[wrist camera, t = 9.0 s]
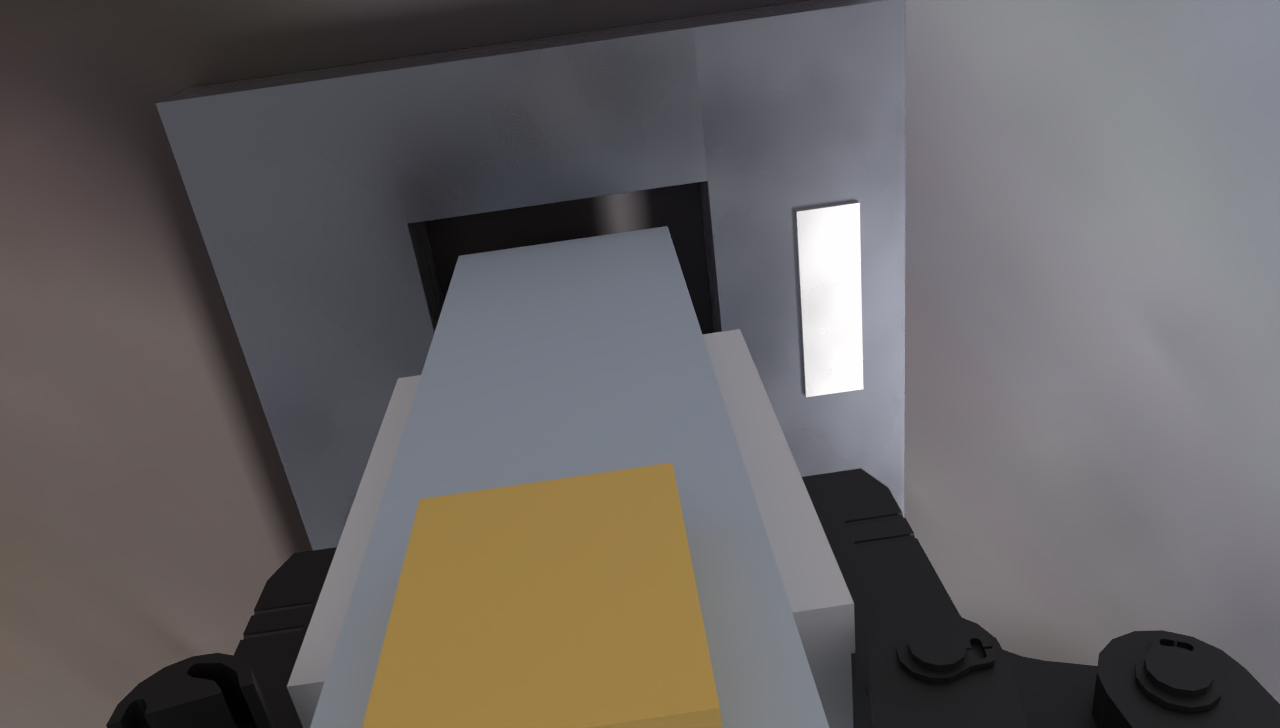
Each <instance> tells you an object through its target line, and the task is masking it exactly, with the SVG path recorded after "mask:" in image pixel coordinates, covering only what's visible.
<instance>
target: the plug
mask: <svg viewBox="0 0 1280 728" xmlns="http://www.w3.org/2000/svg"><path fill="white" fill-rule="evenodd" d="M310 728H829V725H828V722H827V719H826V716H825V712H824V709H823V706H822V703H821V700H820V697H819V694H818V691H817V688H816V685H815V682H814V678H813V675H812V672H811V669H810V666H809V663H808V660H807V657H806V654H805V651H804V647H803V644H802V641H801V638H800V635H799V632H798V629H797V626H796V623H795V620H794V617H793V613H792V610H791V607H790V604H789V601H788V598H787V595H786V592H785V589H784V586H783V582H782V579H781V576H780V573H779V570H778V567H777V564H776V561H775V558H774V555H773V551H772V548H771V545H770V542H769V539H768V536H767V533H766V530H765V527H764V524H763V521H762V517H761V514H760V511H759V508H758V505H757V502H756V499H755V496H754V493H753V490H752V486H751V483H750V480H749V477H748V474H747V471H746V468H745V465H744V462H743V459H742V456H741V452H740V449H739V446H738V443H737V440H736V437H735V434H734V431H733V428H732V425H731V421H730V418H729V415H728V412H727V409H726V406H725V403H724V400H723V397H722V394H721V390H720V387H719V384H718V381H717V378H716V375H715V372H714V369H713V366H712V363H711V360H710V356H709V353H708V350H707V347H706V344H705V341H704V338H703V335H702V332H701V329H700V325H699V322H698V319H697V316H696V313H695V310H694V307H693V304H692V301H691V298H690V295H689V291H688V288H687V285H686V282H685V279H684V276H683V273H682V270H681V267H680V264H679V260H678V257H677V254H676V251H675V248H674V245H673V242H672V239H671V236H670V233H669V229H668V226H664V227H657V228H650V229H643V230H636V231H629V232H622V233H615V234H608V235H601V236H594V237H587V238H580V239H573V240H566V241H559V242H552V243H545V244H538V245H531V246H524V247H517V248H510V249H503V250H496V251H489V252H482V253H475V254H468V255H461V256H459V257H458V260H457V263H456V266H455V269H454V273H453V276H452V279H451V282H450V285H449V288H448V292H447V295H446V298H445V301H444V304H443V307H442V311H441V314H440V317H439V320H438V323H437V327H436V330H435V333H434V336H433V339H432V342H431V346H430V349H429V352H428V355H427V358H426V361H425V365H424V368H423V371H422V374H421V377H420V380H419V384H418V387H417V390H416V393H415V396H414V399H413V403H412V406H411V409H410V412H409V415H408V418H407V422H406V425H405V428H404V431H403V434H402V438H401V441H400V444H399V447H398V450H397V453H396V457H395V460H394V463H393V466H392V469H391V472H390V476H389V479H388V482H387V485H386V488H385V491H384V495H383V498H382V501H381V504H380V507H379V510H378V514H377V517H376V520H375V523H374V526H373V529H372V533H371V536H370V539H369V542H368V545H367V548H366V552H365V555H364V558H363V561H362V564H361V568H360V571H359V574H358V577H357V580H356V583H355V587H354V590H353V593H352V596H351V599H350V602H349V606H348V609H347V612H346V615H345V618H344V621H343V625H342V628H341V631H340V634H339V637H338V640H337V644H336V647H335V650H334V653H333V656H332V659H331V663H330V666H329V669H328V672H327V675H326V679H325V682H324V685H323V688H322V691H321V694H320V698H319V701H318V704H317V707H316V710H315V713H314V717H313V720H312V723H311V726H310Z"/></svg>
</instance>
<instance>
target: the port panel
mask: <svg viewBox="0 0 1280 728" xmlns="http://www.w3.org/2000/svg"><path fill="white" fill-rule="evenodd" d="M156 106H157V109H158V112H159V115H160V117H161V120H162V123H163V126H164V129H165V132H166V135H167V137H168V140H169V143H170V146H171V149H172V152H173V154H174V157H175V160H176V163H177V166H178V169H179V171H180V174H181V177H182V180H183V183H184V186H185V189H186V191H187V194H188V197H189V200H190V203H191V206H192V208H193V211H194V214H195V217H196V220H197V223H198V225H199V228H200V231H201V234H202V237H203V240H204V243H205V245H206V248H207V251H208V254H209V257H210V260H211V262H212V265H213V268H214V271H215V274H216V277H217V279H218V282H219V285H220V288H221V291H222V294H223V297H224V299H225V302H226V305H227V308H228V311H229V314H230V316H231V319H232V322H233V325H234V328H235V331H236V333H237V336H238V339H239V342H240V345H241V348H242V351H243V353H244V356H245V359H246V362H247V365H248V368H249V370H250V373H251V376H252V379H253V382H254V385H255V387H256V390H257V393H258V396H259V399H260V402H261V405H262V407H263V410H264V413H265V416H266V419H267V422H268V424H269V427H270V430H271V433H272V436H273V439H274V441H275V444H276V447H277V450H278V453H279V456H280V459H281V461H282V464H283V467H284V470H285V473H286V476H287V478H288V481H289V484H290V487H291V490H292V493H293V495H294V498H295V501H296V504H297V507H298V510H299V513H300V515H301V518H302V521H303V524H304V527H305V530H306V532H307V535H308V538H309V541H310V544H311V547H312V549H313V551H314V550H321V549H327V548H334V547H337V546H338V543H339V541H340V538H341V535H342V532H343V530H344V527H345V524H346V521H347V518H348V516H349V513H350V510H351V507H352V505H353V502H354V499H355V496H356V494H357V491H358V488H359V485H360V482H361V480H362V477H363V474H364V471H365V469H366V466H367V463H368V460H369V458H370V455H371V452H372V449H373V446H374V444H375V441H376V438H377V435H378V433H379V430H380V427H381V424H382V422H383V419H384V416H385V413H386V411H387V408H388V405H389V402H390V399H391V397H392V394H393V391H394V388H395V386H396V383H397V380H398V378H404V377H410V376H417V375H421V374H422V371H423V368H424V365H425V361H426V358H427V355H428V352H429V349H430V346H431V342H432V339H433V336H434V333H435V330H436V327H437V323H438V320H439V317H440V314H441V311H442V307H443V304H444V300H443V296H442V291H441V287H440V283H439V279H438V274H437V270H436V266H435V262H434V258H433V253H432V249H431V245H430V241H429V237H428V232H427V228H426V224H425V221H429V220H436V219H443V218H450V217H457V216H464V215H471V214H478V213H485V212H492V211H499V210H506V209H513V208H520V207H527V206H534V205H541V204H548V203H555V202H562V201H569V200H576V199H584V198H591V197H598V196H605V195H612V194H619V193H626V192H633V191H640V190H647V189H654V188H661V187H668V186H675V185H682V184H689V183H696V182H699V187H700V197H701V207H702V217H703V228H704V238H705V248H706V258H707V268H708V279H709V289H710V299H711V309H712V319H713V329H714V333H716V332H723V331H730V330H737V329H740V330H741V333H742V335H743V338H744V340H745V342H746V345H747V347H748V350H749V352H750V354H751V357H752V359H753V362H754V364H755V366H756V369H757V371H758V374H759V376H760V378H761V381H762V383H763V386H764V388H765V391H766V393H767V395H768V398H769V400H770V403H771V405H772V407H773V410H774V412H775V415H776V417H777V419H778V422H779V424H780V427H781V429H782V431H783V434H784V436H785V439H786V441H787V443H788V446H789V448H790V451H791V453H792V455H793V458H794V460H795V463H796V465H797V467H798V470H799V472H800V475H801V477H804V476H811V475H818V474H825V473H832V472H838V471H845V470H852V469H859V468H861V469H863V470H864V471H866V472H867V473H868V474H870V475H871V476H873V477H874V478H876V479H877V480H878V481H880V482H881V483H883V484H884V485H885V486H887V487H888V488H889V490H890V491H891V493H892V495H893V497H894V498H895V500H896V502H897V504H898V506H899V507H900V509H901V511H902V514H903V518H904V432H905V107H906V0H808V1H800V2H793V3H786V4H779V5H772V6H765V7H758V8H751V9H744V10H737V11H729V12H722V13H715V14H708V15H701V16H694V17H687V18H680V19H673V20H666V21H659V22H651V23H644V24H637V25H630V26H623V27H616V28H609V29H602V30H595V31H588V32H580V33H573V34H566V35H559V36H552V37H545V38H538V39H531V40H524V41H517V42H509V43H502V44H495V45H488V46H481V47H474V48H467V49H460V50H453V51H446V52H439V53H431V54H424V55H417V56H410V57H403V58H396V59H389V60H382V61H375V62H368V63H360V64H353V65H346V66H339V67H332V68H325V69H318V70H311V71H304V72H297V73H289V74H282V75H275V76H268V77H261V78H254V79H247V80H240V81H233V82H226V83H219V84H211V85H204V86H197V87H190V88H188V89H186V90H183V91H181V92H179V93H177V94H175V95H173V96H170V97H168V98H166V99H164V100H162V101H160V102H158V103H156Z"/></svg>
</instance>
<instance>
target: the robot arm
mask: <svg viewBox="0 0 1280 728" xmlns="http://www.w3.org/2000/svg"><path fill="white" fill-rule="evenodd" d="M702 335H703V338H704V341H705V344H706V347H707V350H708V353H709V356H710V360H711V363H712V366H713V369H714V372H715V375H716V378H717V381H718V384H719V387H720V390H721V394H722V397H723V400H724V403H725V406H726V409H727V412H728V415H729V418H730V421H731V425H732V428H733V431H734V434H735V437H736V440H737V443H738V446H739V449H740V452H741V456H742V459H743V462H744V465H745V468H746V471H747V474H748V477H749V480H750V483H751V486H752V490H753V493H754V496H755V499H756V502H757V505H758V508H759V511H760V514H761V517H762V521H763V524H764V527H765V530H766V533H767V536H768V539H769V542H770V545H771V548H772V551H773V555H774V558H775V561H776V564H777V567H778V570H779V573H780V576H781V579H782V582H783V586H784V589H785V592H786V595H787V598H788V601H789V604H790V607H791V610H792V613H793V617H794V620H795V623H796V626H797V629H798V632H799V635H800V638H801V641H802V644H803V647H804V651H805V654H806V657H807V660H808V663H809V666H810V669H811V672H812V675H813V678H814V682H815V685H816V688H817V691H818V694H819V697H820V700H821V703H822V706H823V709H824V712H825V716H826V719H827V722H828V725H829V728H1280V704H1279V703H1278V702H1277V701H1276V700H1275V699H1274V698H1273V697H1272V696H1271V695H1270V694H1269V693H1268V692H1267V691H1266V690H1265V689H1264V688H1263V686H1262V685H1261V684H1260V683H1259V682H1258V681H1257V680H1256V679H1255V678H1254V677H1253V676H1252V675H1251V674H1250V673H1249V672H1248V671H1247V670H1246V669H1245V668H1244V667H1243V666H1241V665H1240V664H1239V663H1238V662H1236V661H1235V660H1234V659H1232V658H1231V657H1230V656H1229V655H1227V654H1226V653H1225V652H1224V651H1222V650H1220V649H1218V648H1216V647H1214V646H1212V645H1209V644H1207V643H1205V642H1203V641H1200V640H1198V639H1196V638H1194V637H1191V636H1186V635H1181V634H1176V633H1172V632H1167V631H1134V632H1131V633H1129V634H1126V635H1123V636H1120V637H1118V638H1115V639H1112V640H1111V641H1110V643H1109V644H1108V645H1107V646H1106V647H1105V648H1104V649H1103V650H1102V651H1101V652H1100V653H1099V660H1098V666H1090V665H1080V664H1071V663H1061V662H1051V661H1043V660H1038V659H1032V658H1027V657H1022V656H1019V655H1016V654H1013V653H1010V652H1008V651H1005V650H1002V648H1001V646H1000V644H999V643H998V641H997V639H996V638H995V637H993V636H992V635H991V634H989V633H988V632H987V631H986V630H984V629H983V628H982V627H981V626H979V625H978V624H976V623H974V622H971V621H969V620H966V619H964V618H962V617H961V616H960V615H959V613H958V611H957V609H956V607H955V606H954V604H953V602H952V600H951V599H950V597H949V595H948V593H947V591H946V590H945V588H944V586H943V584H942V582H941V581H940V579H939V577H938V575H937V574H936V572H935V570H934V568H933V566H932V565H931V563H930V561H929V559H928V557H927V556H926V554H925V552H924V550H923V549H922V547H921V545H920V543H919V541H918V540H917V538H916V539H915V537H914V532H913V531H912V529H911V527H910V525H909V523H908V522H907V520H906V518H903V514H902V511H901V509H900V507H899V506H898V504H897V502H896V500H895V498H894V497H893V495H892V493H891V491H890V490H889V488H888V487H887V486H885V485H884V484H883V483H881V482H880V481H878V480H877V479H876V478H874V477H873V476H871V475H870V474H868V473H867V472H866V471H864V470H863V469H861V468H859V469H852V470H845V471H838V472H832V473H825V474H818V475H811V476H804V477H801V475H800V472H799V470H798V467H797V465H796V463H795V460H794V458H793V455H792V453H791V451H790V448H789V446H788V443H787V441H786V439H785V436H784V434H783V431H782V429H781V427H780V424H779V422H778V419H777V417H776V415H775V412H774V410H773V407H772V405H771V403H770V400H769V398H768V395H767V393H766V391H765V388H764V386H763V383H762V381H761V378H760V376H759V374H758V371H757V369H756V366H755V364H754V362H753V359H752V357H751V354H750V352H749V350H748V347H747V345H746V342H745V340H744V338H743V335H742V333H741V330H740V329H737V330H730V331H723V332H716V333H709V334H702ZM420 377H421V375H417V376H410V377H404V378H398V380H397V383H396V386H395V388H394V391H393V394H392V397H391V399H390V402H389V405H388V408H387V411H386V413H385V416H384V419H383V422H382V424H381V427H380V430H379V433H378V435H377V438H376V441H375V444H374V446H373V449H372V452H371V455H370V458H369V460H368V463H367V466H366V469H365V471H364V474H363V477H362V480H361V482H360V485H359V488H358V491H357V494H356V496H355V499H354V502H353V505H352V507H351V510H350V513H349V516H348V518H347V521H346V524H345V527H344V530H343V532H342V535H341V538H340V541H339V543H338V546H337V547H334V548H327V549H321V550H314V551H307V552H300V553H294V554H293V555H292V556H291V557H290V558H289V559H288V560H287V561H286V562H285V563H284V564H283V565H282V566H281V567H280V568H279V569H278V570H277V571H276V572H275V573H274V574H273V575H272V576H271V577H270V578H269V579H268V581H267V582H266V585H265V587H264V589H263V591H262V593H261V596H260V598H259V600H258V602H257V605H256V607H255V609H254V612H255V615H253V616H251V618H250V620H249V622H248V625H247V627H246V629H245V631H244V634H243V635H244V640H240V643H239V645H238V647H237V649H236V652H235V654H234V656H232V655H227V654H221V653H214V654H207V655H200V656H194V657H190V658H187V659H185V660H182V661H180V662H177V663H175V664H172V665H170V666H167V667H165V668H163V669H161V670H160V671H158V672H157V673H155V674H154V675H152V676H150V677H149V678H147V679H146V680H144V681H143V682H141V683H139V684H138V685H137V686H136V687H135V688H134V689H133V690H132V691H131V692H130V693H129V694H128V695H127V696H126V697H125V698H124V699H123V700H122V701H121V702H120V703H119V704H118V705H117V707H116V709H115V711H114V712H113V714H112V716H111V718H110V720H109V721H108V723H107V725H106V726H107V728H310V726H311V723H312V720H313V717H314V713H315V710H316V707H317V704H318V701H319V698H320V694H321V691H322V688H323V685H324V682H325V679H326V675H327V672H328V669H329V666H330V663H331V659H332V656H333V653H334V650H335V647H336V644H337V640H338V637H339V634H340V631H341V628H342V625H343V621H344V618H345V615H346V612H347V609H348V606H349V602H350V599H351V596H352V593H353V590H354V587H355V583H356V580H357V577H358V574H359V571H360V568H361V564H362V561H363V558H364V555H365V552H366V548H367V545H368V542H369V539H370V536H371V533H372V529H373V526H374V523H375V520H376V517H377V514H378V510H379V507H380V504H381V501H382V498H383V495H384V491H385V488H386V485H387V482H388V479H389V476H390V472H391V469H392V466H393V463H394V460H395V457H396V453H397V450H398V447H399V444H400V441H401V438H402V434H403V431H404V428H405V425H406V422H407V418H408V415H409V412H410V409H411V406H412V403H413V399H414V396H415V393H416V390H417V387H418V384H419V380H420Z"/></svg>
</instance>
